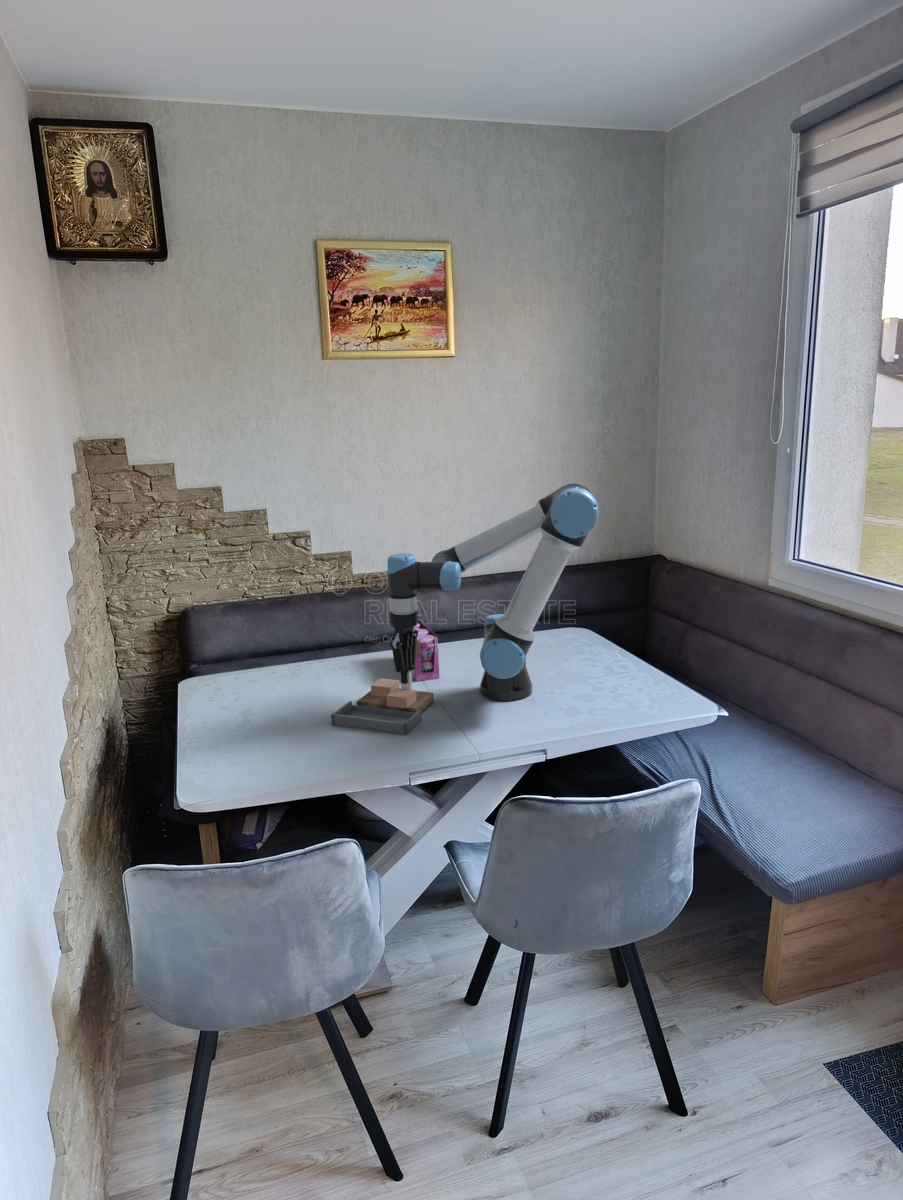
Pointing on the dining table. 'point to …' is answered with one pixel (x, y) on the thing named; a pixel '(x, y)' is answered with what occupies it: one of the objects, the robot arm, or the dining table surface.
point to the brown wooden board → (421, 703)
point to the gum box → (426, 654)
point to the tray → (376, 719)
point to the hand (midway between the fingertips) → (406, 693)
